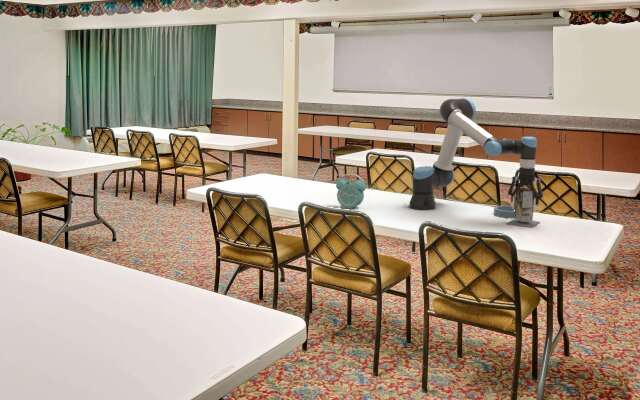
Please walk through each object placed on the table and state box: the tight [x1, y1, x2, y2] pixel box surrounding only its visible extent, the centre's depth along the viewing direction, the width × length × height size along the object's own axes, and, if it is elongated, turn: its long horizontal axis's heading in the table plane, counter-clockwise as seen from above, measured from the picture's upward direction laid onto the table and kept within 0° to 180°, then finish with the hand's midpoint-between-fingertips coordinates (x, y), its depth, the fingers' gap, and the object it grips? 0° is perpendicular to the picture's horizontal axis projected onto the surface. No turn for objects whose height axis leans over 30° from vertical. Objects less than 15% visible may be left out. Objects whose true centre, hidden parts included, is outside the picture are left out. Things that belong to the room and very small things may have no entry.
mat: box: [506, 218, 541, 229], centre depth 320 cm, size 13×13×1 cm
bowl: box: [493, 205, 516, 219], centre depth 339 cm, size 16×16×4 cm
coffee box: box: [514, 187, 535, 222], centre depth 318 cm, size 9×6×16 cm
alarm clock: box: [335, 173, 367, 210], centre depth 354 cm, size 17×10×20 cm, turn 68°
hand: (524, 209), depth 318 cm, fingers closed on coffee box, 10 cm apart
